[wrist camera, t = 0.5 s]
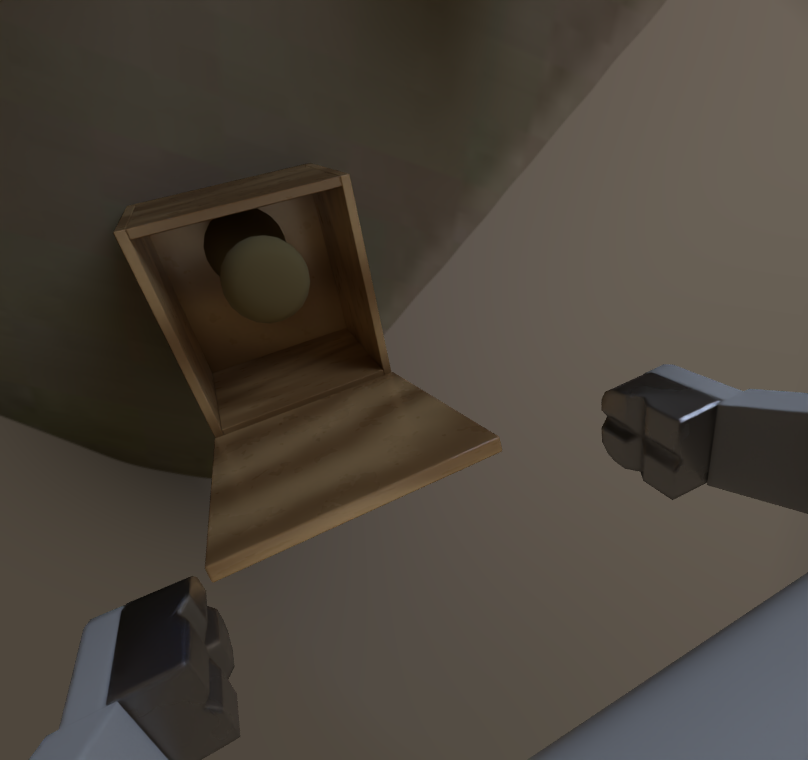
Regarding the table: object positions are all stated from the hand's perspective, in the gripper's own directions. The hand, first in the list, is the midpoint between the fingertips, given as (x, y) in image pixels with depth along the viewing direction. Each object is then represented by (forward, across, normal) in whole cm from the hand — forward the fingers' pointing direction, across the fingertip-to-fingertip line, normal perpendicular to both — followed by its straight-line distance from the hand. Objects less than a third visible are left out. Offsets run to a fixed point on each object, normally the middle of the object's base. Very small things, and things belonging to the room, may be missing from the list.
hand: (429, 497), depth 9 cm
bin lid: (+16, 0, +8) cm, 18 cm away
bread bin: (+33, 0, +2) cm, 33 cm away
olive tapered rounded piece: (+32, 0, -1) cm, 32 cm away
